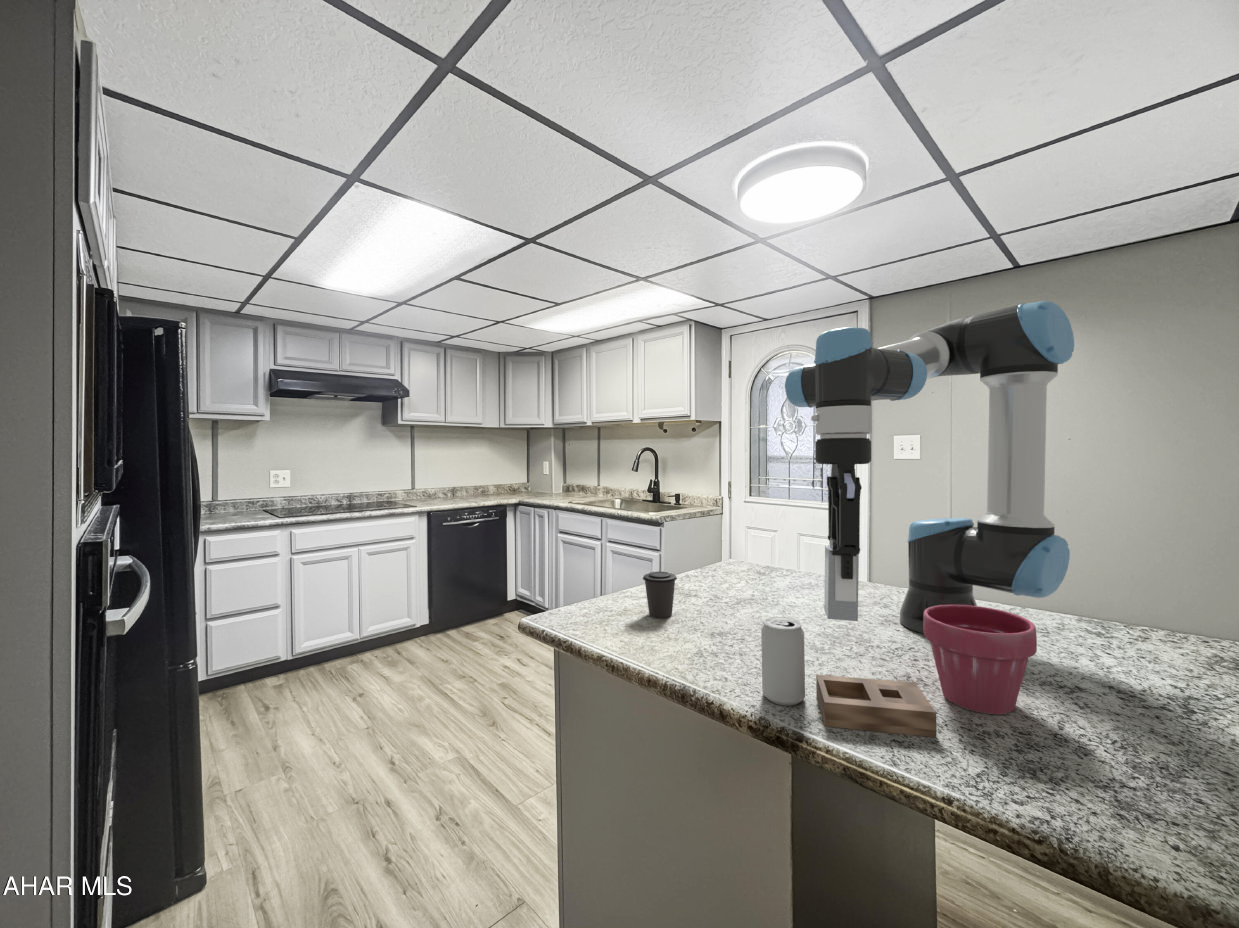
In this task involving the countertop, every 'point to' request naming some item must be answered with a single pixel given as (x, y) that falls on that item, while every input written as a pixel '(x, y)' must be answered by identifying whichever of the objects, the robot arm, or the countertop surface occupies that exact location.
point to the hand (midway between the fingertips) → (842, 595)
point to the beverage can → (783, 661)
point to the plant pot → (980, 654)
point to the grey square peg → (831, 606)
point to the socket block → (875, 705)
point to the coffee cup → (660, 593)
